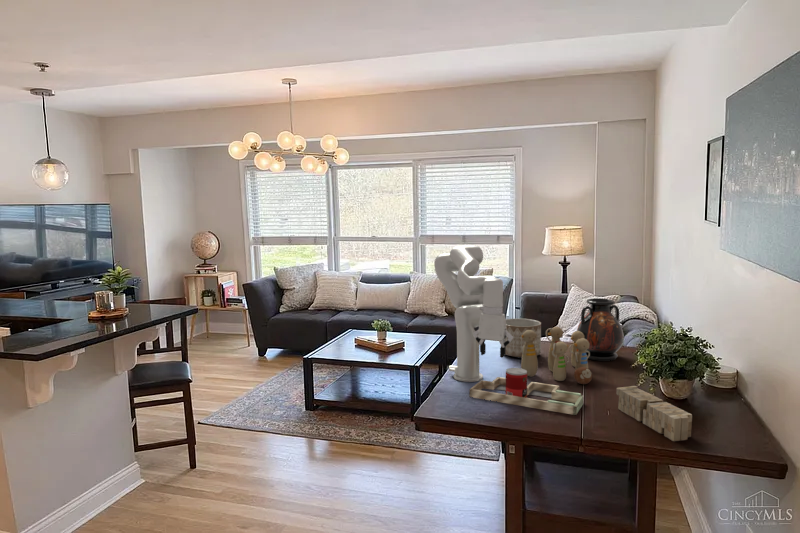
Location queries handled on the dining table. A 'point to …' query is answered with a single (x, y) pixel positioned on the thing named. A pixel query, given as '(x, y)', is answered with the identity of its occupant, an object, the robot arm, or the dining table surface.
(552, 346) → the bowling set
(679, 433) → the block tower
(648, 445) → the dining table surface
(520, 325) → the planter
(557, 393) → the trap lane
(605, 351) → the amphora vase
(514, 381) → the canned food
